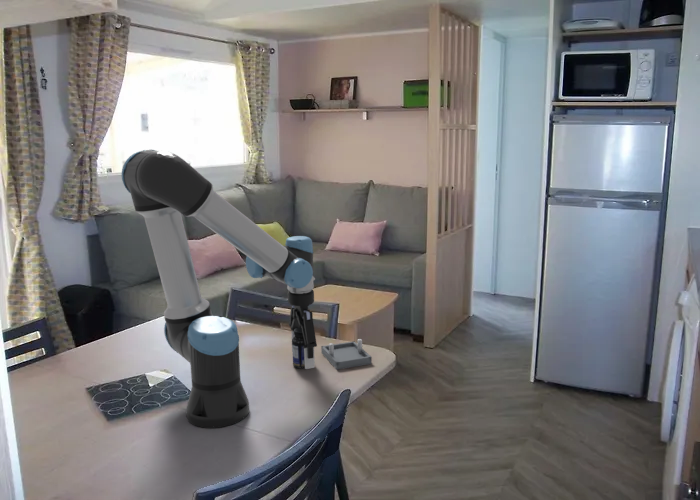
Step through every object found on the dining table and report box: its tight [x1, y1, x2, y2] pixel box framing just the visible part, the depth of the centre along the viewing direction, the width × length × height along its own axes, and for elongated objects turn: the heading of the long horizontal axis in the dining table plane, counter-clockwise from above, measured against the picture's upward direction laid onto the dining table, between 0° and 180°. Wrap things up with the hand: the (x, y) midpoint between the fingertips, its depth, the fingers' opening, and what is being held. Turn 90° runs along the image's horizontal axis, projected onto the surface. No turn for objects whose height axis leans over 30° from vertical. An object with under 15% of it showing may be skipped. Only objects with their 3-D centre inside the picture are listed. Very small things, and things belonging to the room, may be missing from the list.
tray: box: [320, 338, 373, 370], centre depth 181 cm, size 14×11×5 cm
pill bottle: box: [291, 327, 311, 369], centre depth 175 cm, size 6×6×11 cm
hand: (303, 359), depth 176 cm, fingers open, 13 cm apart
